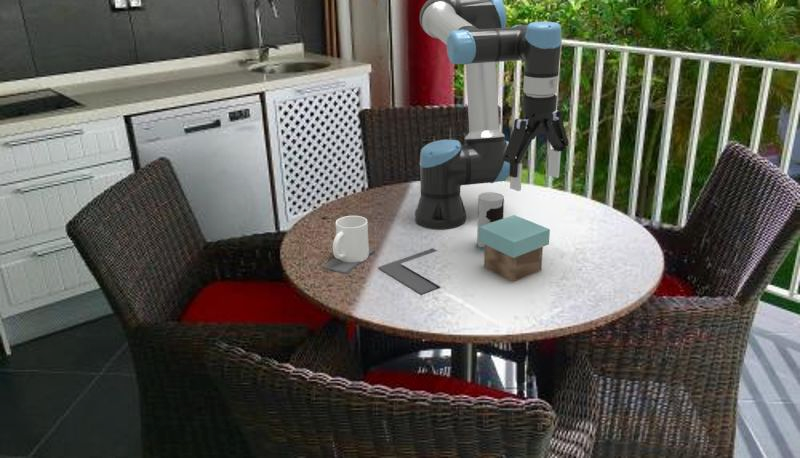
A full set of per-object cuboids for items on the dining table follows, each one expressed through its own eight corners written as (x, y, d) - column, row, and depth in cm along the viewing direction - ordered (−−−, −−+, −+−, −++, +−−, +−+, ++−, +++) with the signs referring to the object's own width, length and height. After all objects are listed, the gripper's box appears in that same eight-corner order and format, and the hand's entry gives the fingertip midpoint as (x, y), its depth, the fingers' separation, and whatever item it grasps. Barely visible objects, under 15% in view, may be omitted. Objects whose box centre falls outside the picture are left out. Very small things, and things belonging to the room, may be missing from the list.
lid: (478, 246, 169) (479, 226, 167) (513, 233, 175) (514, 214, 173) (513, 262, 160) (514, 242, 158) (548, 248, 166) (549, 229, 164)
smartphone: (321, 266, 175) (352, 243, 187) (321, 270, 175) (352, 247, 187) (346, 272, 171) (376, 249, 183) (346, 276, 172) (376, 252, 184)
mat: (377, 268, 174) (377, 267, 174) (432, 249, 184) (432, 248, 183) (421, 294, 161) (421, 293, 160) (478, 273, 170) (478, 271, 170)
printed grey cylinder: (506, 251, 181) (508, 199, 175) (483, 256, 179) (485, 202, 173) (494, 242, 187) (496, 190, 181) (472, 246, 185) (473, 194, 179)
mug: (347, 272, 172) (344, 235, 168) (322, 264, 177) (319, 228, 173) (375, 255, 181) (373, 219, 177) (351, 248, 186) (349, 213, 182)
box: (483, 270, 171) (484, 241, 168) (512, 259, 177) (513, 231, 173) (512, 285, 164) (513, 255, 161) (541, 273, 169) (543, 244, 166)
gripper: (514, 105, 144) (510, 199, 152) (588, 88, 158) (580, 174, 166) (489, 100, 149) (486, 191, 157) (562, 83, 163) (556, 167, 172)
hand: (534, 182), depth 162 cm, fingers open, 13 cm apart
